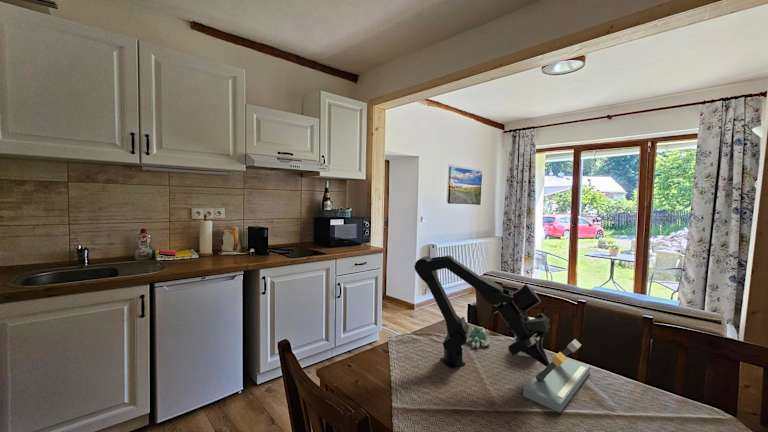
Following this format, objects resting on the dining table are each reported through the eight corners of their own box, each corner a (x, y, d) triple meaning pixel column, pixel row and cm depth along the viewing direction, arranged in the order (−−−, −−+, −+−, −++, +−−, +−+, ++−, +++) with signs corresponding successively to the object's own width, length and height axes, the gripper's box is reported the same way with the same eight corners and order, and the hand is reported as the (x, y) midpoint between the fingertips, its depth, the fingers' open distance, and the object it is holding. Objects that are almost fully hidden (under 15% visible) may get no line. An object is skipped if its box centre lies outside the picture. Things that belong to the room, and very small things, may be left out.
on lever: (549, 361, 108) (571, 342, 103) (553, 357, 111) (575, 338, 106) (555, 367, 106) (578, 348, 102) (559, 363, 109) (581, 344, 104)
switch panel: (523, 396, 94) (523, 387, 94) (557, 361, 115) (557, 354, 115) (560, 412, 87) (560, 403, 87) (589, 373, 108) (590, 365, 108)
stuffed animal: (461, 334, 124) (466, 318, 135) (461, 350, 126) (466, 333, 136) (490, 339, 120) (492, 322, 131) (489, 356, 122) (492, 338, 132)
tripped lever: (533, 377, 98) (555, 355, 93) (538, 372, 101) (560, 351, 96) (540, 384, 97) (562, 362, 92) (544, 379, 99) (567, 358, 95)
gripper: (521, 313, 93) (559, 365, 86) (544, 300, 106) (579, 344, 99) (494, 331, 99) (528, 381, 92) (518, 316, 112) (550, 359, 105)
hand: (547, 365), depth 97 cm, fingers closed, pressing on tripped lever
